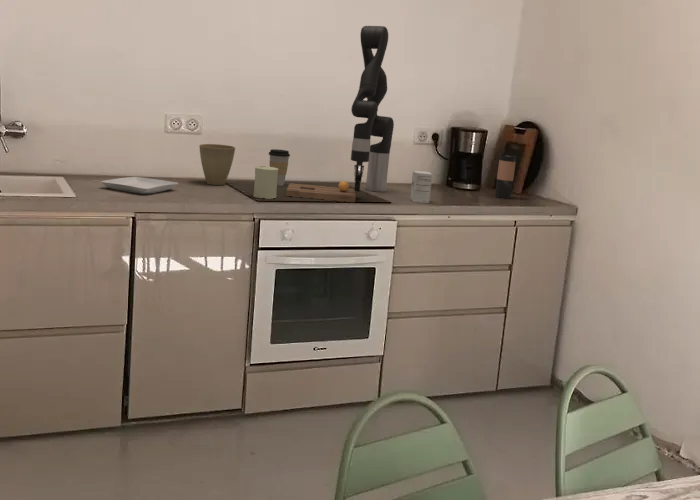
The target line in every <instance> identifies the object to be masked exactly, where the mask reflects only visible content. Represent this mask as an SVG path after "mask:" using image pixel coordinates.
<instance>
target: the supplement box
mask: <svg viewBox="0 0 700 500" xmlns="http://www.w3.org/2000/svg"><path fill="white" fill-rule="evenodd" d="M432 180H433V173H431V172H430V171H423V170H413V171H412V178H411V187H410V195H409V196H410V197H409V199H410V201H412V202H413V203H419V204H420V203H421V204H429V203H430V197H431V190H432Z"/></svg>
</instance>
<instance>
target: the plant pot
mask: <svg viewBox="0 0 700 500" xmlns="http://www.w3.org/2000/svg"><path fill="white" fill-rule="evenodd" d="M235 151H236V147H235V146H233V145H227V144H217V143H201V144H199V154H200V162H201V167H202V171H203V175H204V178H205V181H206V184H208V185H210V186H224V185H225V184H226V182H227V179H228V177H229V174H230V171H231V168H232V165H233V161H234V156H235Z"/></svg>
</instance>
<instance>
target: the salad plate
mask: <svg viewBox="0 0 700 500" xmlns="http://www.w3.org/2000/svg"><path fill="white" fill-rule="evenodd" d="M101 184H102V185H104V186H105V187H107V188H109V189H112V190H116V191H121V192H128V193H133V194H141V195H151V194H156V193H162V192H166V191H169V190H171V189H173V188H176V187H177V186H178V185H179V182H176V181H169V180H163V179H156V178H155V179H154V178H148V177H147V178H146V177H139V176H130V177H119V178H112V179H107V180H106V179H105V180H102V181H101Z"/></svg>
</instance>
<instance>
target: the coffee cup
mask: <svg viewBox="0 0 700 500" xmlns="http://www.w3.org/2000/svg"><path fill="white" fill-rule="evenodd" d="M268 155H269V167H274V168H278V178H277V187H278V186H279V187H282V186H285V181H286V176H287V172H288V166H289V158H290V157H291V153H290V152H289V150H285V149H275V148H274V149H272V148H271V149H270V151H269V152H268Z"/></svg>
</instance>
